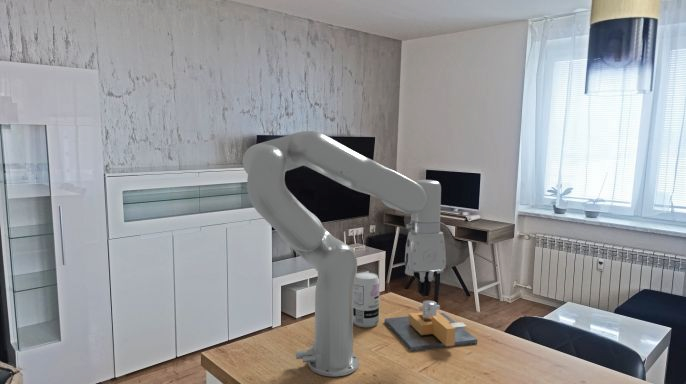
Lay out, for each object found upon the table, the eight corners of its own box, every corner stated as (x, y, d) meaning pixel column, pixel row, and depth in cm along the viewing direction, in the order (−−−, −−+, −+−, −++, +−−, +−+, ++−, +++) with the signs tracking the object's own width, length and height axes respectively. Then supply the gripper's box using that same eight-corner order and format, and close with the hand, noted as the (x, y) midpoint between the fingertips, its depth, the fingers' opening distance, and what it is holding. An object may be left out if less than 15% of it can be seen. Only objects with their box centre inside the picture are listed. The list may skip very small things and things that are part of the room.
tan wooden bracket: (435, 348, 122) (435, 330, 122) (408, 322, 139) (409, 306, 139) (465, 344, 125) (466, 327, 124) (435, 319, 142) (436, 304, 141)
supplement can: (353, 317, 147) (354, 271, 145) (379, 318, 146) (380, 272, 144) (350, 327, 139) (351, 278, 137) (377, 329, 138) (379, 280, 136)
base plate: (411, 351, 124) (412, 319, 123) (384, 322, 143) (385, 294, 142) (482, 342, 130) (484, 311, 129) (448, 316, 149) (449, 288, 148)
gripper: (404, 231, 116) (403, 302, 118) (458, 228, 120) (456, 296, 122) (393, 226, 123) (392, 292, 125) (444, 223, 127) (442, 287, 129)
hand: (423, 294), depth 124 cm, fingers closed
